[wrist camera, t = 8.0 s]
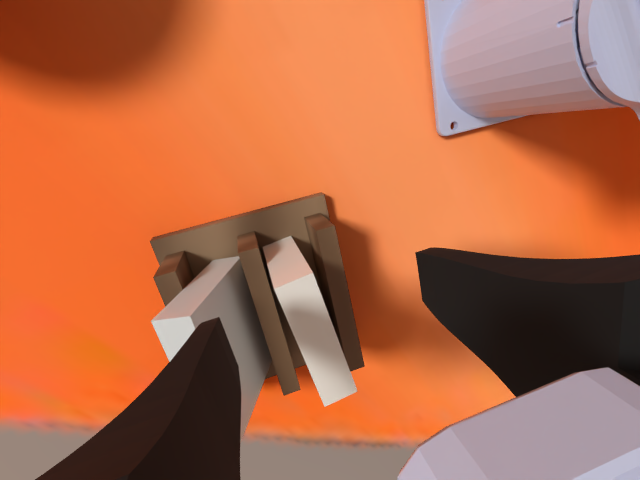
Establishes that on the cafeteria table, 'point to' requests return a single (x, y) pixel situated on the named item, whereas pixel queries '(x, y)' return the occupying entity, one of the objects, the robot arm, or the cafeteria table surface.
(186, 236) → the rack
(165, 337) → the racked plate
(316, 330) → the white upright slab
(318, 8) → the cafeteria table surface
